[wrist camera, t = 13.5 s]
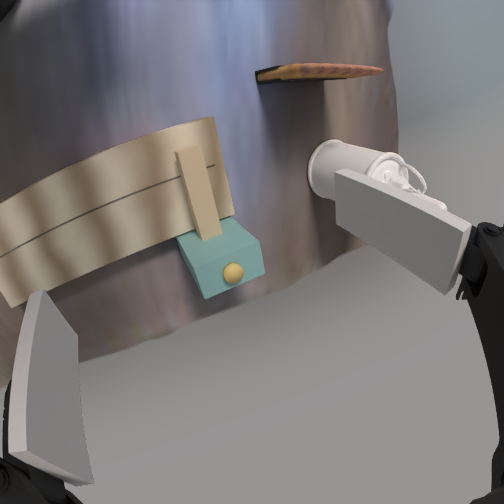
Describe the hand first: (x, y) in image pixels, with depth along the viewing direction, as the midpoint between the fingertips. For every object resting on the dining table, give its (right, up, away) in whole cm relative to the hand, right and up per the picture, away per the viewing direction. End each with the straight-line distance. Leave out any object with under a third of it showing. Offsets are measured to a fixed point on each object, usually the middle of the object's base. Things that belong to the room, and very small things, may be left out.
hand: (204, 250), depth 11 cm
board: (-17, +5, +18) cm, 25 cm away
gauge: (-5, +6, +23) cm, 25 cm away
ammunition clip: (+7, +23, +21) cm, 32 cm away
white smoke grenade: (+14, +12, +31) cm, 36 cm away
